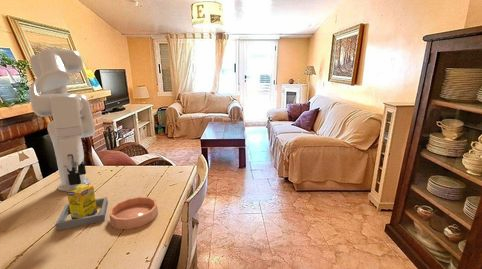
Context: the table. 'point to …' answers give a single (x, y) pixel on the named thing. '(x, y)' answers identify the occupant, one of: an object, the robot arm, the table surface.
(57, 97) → the robot arm
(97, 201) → the open square frame
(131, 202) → the bowl
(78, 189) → the supplement box
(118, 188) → the table surface
